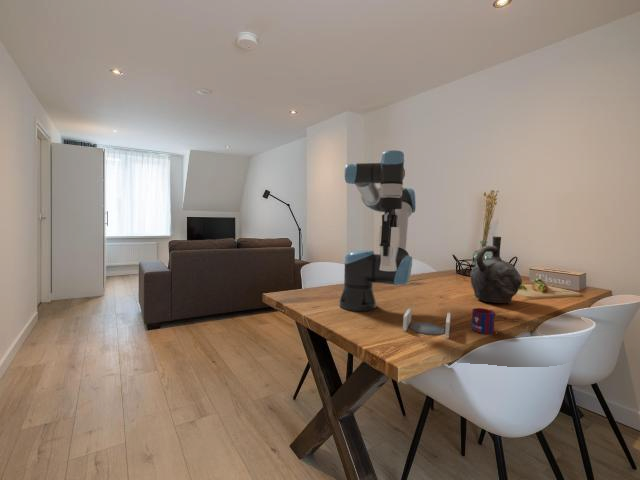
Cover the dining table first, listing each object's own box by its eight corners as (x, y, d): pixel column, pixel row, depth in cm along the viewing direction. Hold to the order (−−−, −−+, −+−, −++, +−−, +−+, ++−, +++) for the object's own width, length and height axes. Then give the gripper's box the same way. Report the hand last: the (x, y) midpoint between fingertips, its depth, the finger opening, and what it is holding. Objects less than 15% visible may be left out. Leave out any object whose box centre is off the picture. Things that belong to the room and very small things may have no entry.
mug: (466, 328, 109) (468, 309, 108) (485, 325, 113) (487, 306, 113) (484, 335, 103) (486, 314, 102) (504, 331, 108) (505, 311, 107)
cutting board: (530, 300, 154) (531, 284, 154) (491, 289, 177) (492, 276, 176) (583, 297, 164) (584, 282, 163) (540, 287, 186) (541, 274, 186)
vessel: (512, 312, 130) (518, 239, 128) (458, 301, 145) (461, 235, 143) (526, 302, 148) (530, 237, 146) (475, 293, 163) (479, 234, 161)
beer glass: (394, 272, 106) (396, 227, 105) (374, 270, 110) (376, 226, 109) (400, 269, 112) (402, 227, 111) (382, 267, 116) (383, 226, 115)
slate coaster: (407, 331, 105) (407, 329, 105) (412, 321, 115) (412, 320, 115) (443, 337, 100) (443, 335, 100) (445, 326, 110) (445, 325, 110)
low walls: (402, 331, 105) (403, 316, 105) (408, 320, 116) (408, 307, 116) (448, 338, 99) (449, 322, 99) (449, 326, 110) (450, 312, 110)
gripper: (396, 195, 99) (393, 269, 100) (406, 199, 116) (404, 262, 118) (372, 195, 102) (369, 267, 104) (386, 199, 120) (383, 260, 121)
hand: (388, 264), depth 111 cm, fingers closed on beer glass, 6 cm apart
